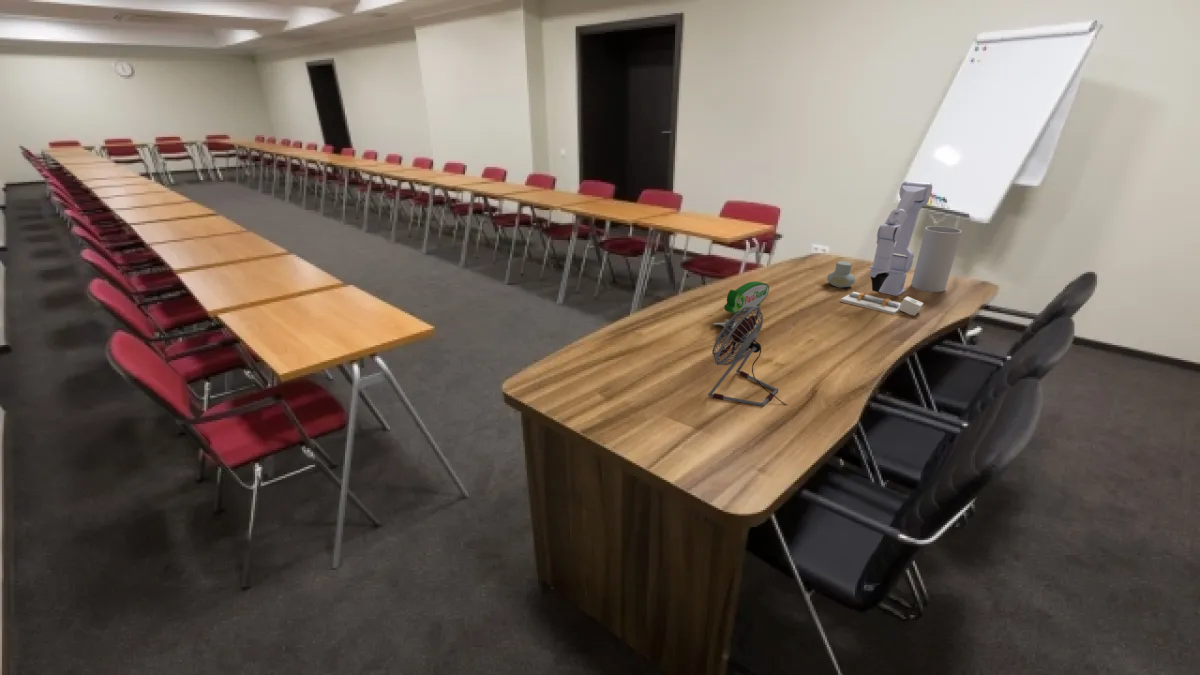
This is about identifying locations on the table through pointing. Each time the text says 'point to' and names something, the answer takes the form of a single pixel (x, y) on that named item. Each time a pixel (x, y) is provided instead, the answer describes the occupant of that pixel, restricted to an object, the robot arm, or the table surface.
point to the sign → (746, 296)
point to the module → (910, 306)
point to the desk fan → (740, 350)
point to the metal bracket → (726, 323)
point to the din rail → (874, 300)
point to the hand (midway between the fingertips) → (875, 291)
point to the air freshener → (841, 275)
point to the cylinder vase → (935, 258)
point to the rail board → (871, 303)
